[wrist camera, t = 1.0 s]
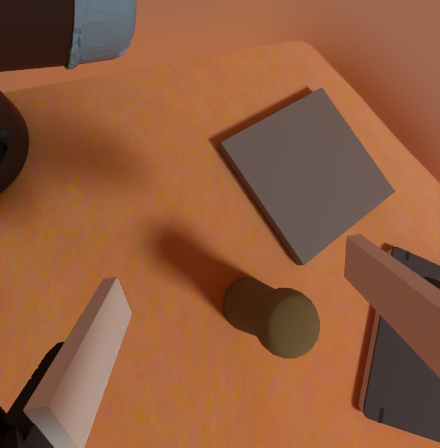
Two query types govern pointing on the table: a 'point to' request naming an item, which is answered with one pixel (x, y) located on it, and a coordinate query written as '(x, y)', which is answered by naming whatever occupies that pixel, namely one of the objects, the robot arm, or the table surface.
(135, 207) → the table surface
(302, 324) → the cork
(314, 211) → the slate board
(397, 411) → the notebook
